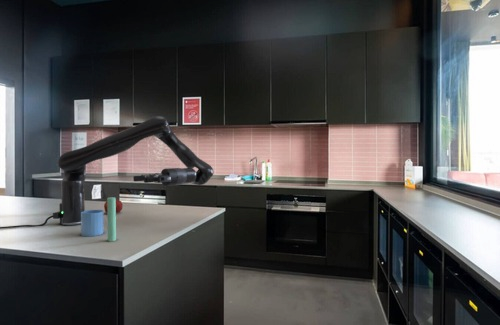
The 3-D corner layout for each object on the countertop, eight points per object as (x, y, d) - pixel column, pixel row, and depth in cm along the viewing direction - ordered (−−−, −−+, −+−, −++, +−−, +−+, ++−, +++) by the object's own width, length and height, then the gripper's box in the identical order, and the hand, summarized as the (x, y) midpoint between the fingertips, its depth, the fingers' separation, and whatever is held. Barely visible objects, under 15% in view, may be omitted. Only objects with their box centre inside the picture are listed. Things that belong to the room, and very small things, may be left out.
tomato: (102, 213, 168) (102, 198, 168) (120, 211, 174) (119, 196, 174) (106, 215, 161) (106, 200, 161) (124, 213, 167) (124, 198, 166)
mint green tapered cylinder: (106, 241, 114) (105, 198, 114) (110, 239, 117) (110, 197, 117) (113, 241, 114) (112, 198, 114) (117, 239, 117) (117, 197, 116)
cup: (76, 236, 122) (76, 213, 121) (89, 231, 130) (89, 209, 129) (95, 236, 121) (95, 213, 120) (107, 231, 129) (107, 210, 128)
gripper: (164, 167, 140) (130, 169, 128) (183, 168, 130) (148, 170, 118) (165, 184, 140) (130, 187, 128) (183, 186, 130) (148, 190, 118)
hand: (139, 179), depth 123 cm, fingers open, 8 cm apart
